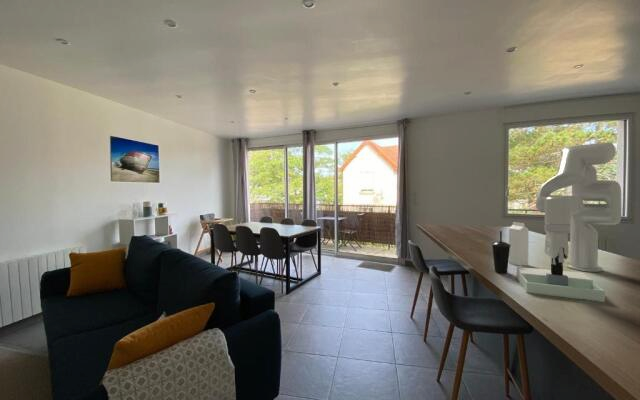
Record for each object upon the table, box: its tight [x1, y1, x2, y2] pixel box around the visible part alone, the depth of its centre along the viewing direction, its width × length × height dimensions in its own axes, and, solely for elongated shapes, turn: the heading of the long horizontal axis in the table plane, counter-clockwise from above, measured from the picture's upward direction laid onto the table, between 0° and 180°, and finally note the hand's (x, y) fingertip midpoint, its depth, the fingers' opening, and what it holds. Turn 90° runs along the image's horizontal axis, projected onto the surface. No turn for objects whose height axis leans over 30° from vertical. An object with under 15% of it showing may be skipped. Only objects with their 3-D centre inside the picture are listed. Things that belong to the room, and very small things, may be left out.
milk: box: [508, 221, 529, 267], centre depth 138 cm, size 6×6×22 cm
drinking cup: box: [491, 230, 511, 274], centre depth 126 cm, size 8×8×20 cm
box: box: [520, 276, 606, 303], centre depth 101 cm, size 9×22×4 cm, turn 63°
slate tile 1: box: [546, 273, 568, 286], centre depth 103 cm, size 4×6×2 cm
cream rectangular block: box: [516, 266, 594, 283], centre depth 109 cm, size 9×22×5 cm, turn 63°
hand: (556, 274), depth 103 cm, fingers closed
